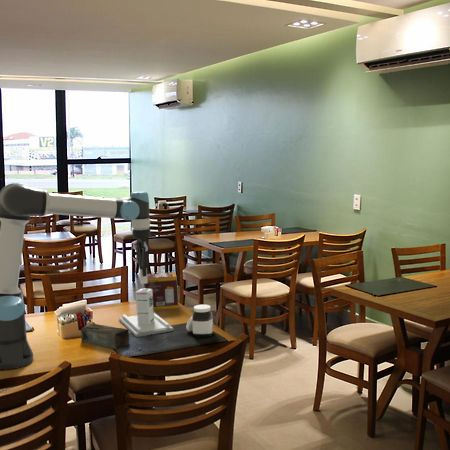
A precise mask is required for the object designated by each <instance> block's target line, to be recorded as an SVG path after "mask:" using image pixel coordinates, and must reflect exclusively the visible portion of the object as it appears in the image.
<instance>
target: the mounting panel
mask: <svg viewBox="0 0 450 450" xmlns="http://www.w3.org/2000/svg"><path fill="white" fill-rule="evenodd" d="M118 320H119V322H120V323H121V324H122V325H123V326H124V327H125V329H128V330H129V333H130V332H131V333H132V335H134V336H135V338H139V337H146V336H151V334H152V335H155V334H156V335H157V334H163V333H168V332H173V331H174V327H173V326H172V325H170V323H168V322H167V321H166V320H164V319H163V318H162V317H160V316H159V315H158V314H157V313H156V312H154V321H153V322H152V323H151V324H150V325H141V324H138V320H137V314H136V315H131V316H127V314H122V317H119V318H118Z"/></svg>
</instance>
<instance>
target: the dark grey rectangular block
mask: <svg viewBox="0 0 450 450" xmlns="http://www.w3.org/2000/svg"><path fill="white" fill-rule="evenodd" d="M80 333H81V334H80V337H81V338H80V339H81V343H84V344H89V345H94V346H99V347H104V348H108V349H115V350H117V349H120V348H123V347H124V346H127V345H129V344H130V331H129V330H128V329H127V328H122V327H116V326H114V327H113V326H108V325H102V324H99V323H91V324H90V325H85V326H84V327H81V328H80Z"/></svg>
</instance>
